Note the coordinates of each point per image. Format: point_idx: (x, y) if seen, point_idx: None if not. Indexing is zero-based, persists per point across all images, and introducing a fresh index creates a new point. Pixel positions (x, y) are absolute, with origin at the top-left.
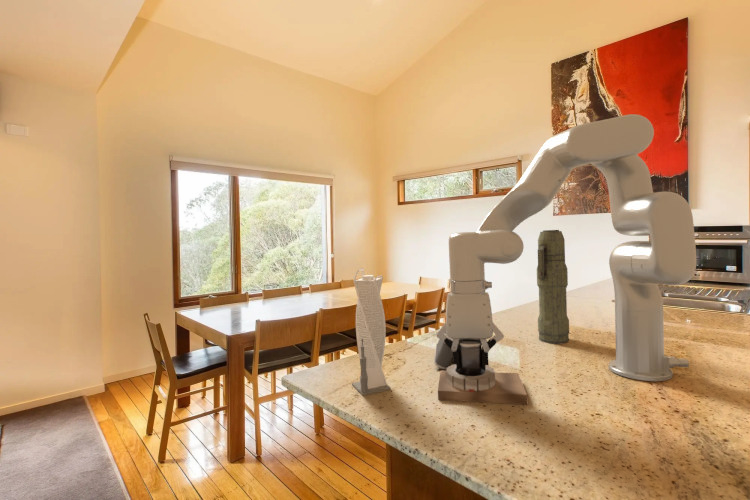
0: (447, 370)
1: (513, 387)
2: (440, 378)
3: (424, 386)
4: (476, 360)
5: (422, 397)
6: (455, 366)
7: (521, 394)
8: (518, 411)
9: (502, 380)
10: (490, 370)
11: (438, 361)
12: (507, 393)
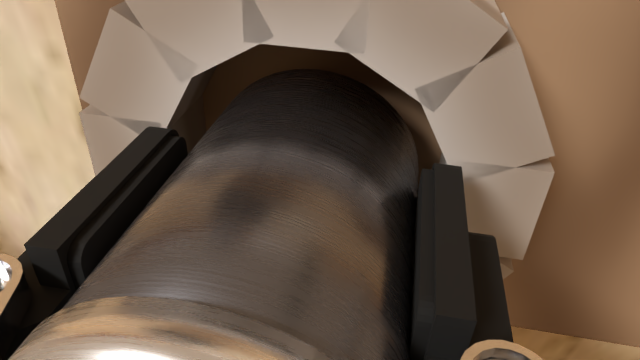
0: (101, 168)
1: (630, 256)
2: (82, 77)
3: (11, 43)
4: None
5: (61, 194)
6: (151, 69)
7: (624, 344)
8: (543, 349)
9: (609, 130)
10: (505, 191)
11: None
12: (536, 324)
